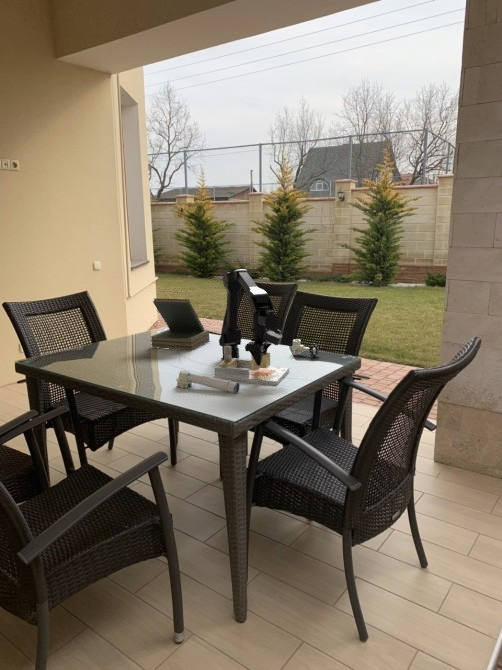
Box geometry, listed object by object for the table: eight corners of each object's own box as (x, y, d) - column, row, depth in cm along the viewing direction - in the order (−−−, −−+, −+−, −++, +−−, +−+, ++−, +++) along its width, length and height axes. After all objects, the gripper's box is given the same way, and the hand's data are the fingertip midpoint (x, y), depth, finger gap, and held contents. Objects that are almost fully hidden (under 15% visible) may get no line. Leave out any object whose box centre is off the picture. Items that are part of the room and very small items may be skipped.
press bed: (212, 379, 190) (212, 368, 189) (229, 367, 207) (229, 356, 206) (276, 385, 182) (276, 373, 181) (289, 371, 198) (289, 360, 197)
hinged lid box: (209, 342, 254) (207, 294, 248) (191, 351, 236) (188, 300, 231) (171, 339, 262) (168, 293, 257) (151, 348, 245) (147, 299, 239)
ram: (218, 372, 193) (217, 349, 191) (228, 365, 202) (227, 343, 200) (228, 373, 192) (227, 350, 190) (237, 366, 201) (236, 344, 199)
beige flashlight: (234, 385, 171) (174, 369, 181) (232, 402, 173) (173, 386, 183) (240, 380, 176) (181, 365, 185) (239, 397, 178) (180, 382, 187)
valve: (288, 355, 223) (311, 359, 216) (288, 341, 222) (311, 344, 214) (297, 352, 228) (319, 355, 221) (296, 338, 227) (319, 341, 219)
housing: (251, 367, 191) (251, 354, 190) (256, 364, 195) (255, 351, 194) (266, 368, 189) (266, 355, 188) (270, 365, 193) (270, 352, 192)
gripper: (272, 330, 177) (273, 372, 181) (286, 321, 194) (287, 358, 198) (244, 329, 181) (245, 369, 184) (260, 320, 198) (260, 357, 201)
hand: (260, 363), depth 192 cm, fingers closed on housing, 5 cm apart
